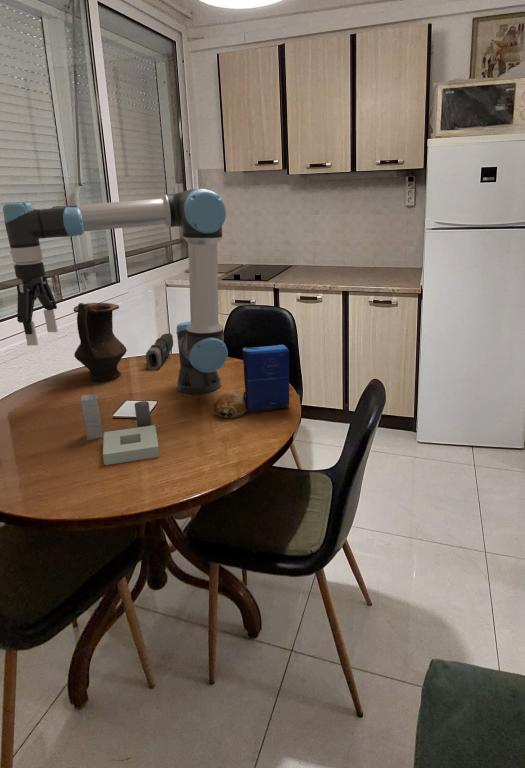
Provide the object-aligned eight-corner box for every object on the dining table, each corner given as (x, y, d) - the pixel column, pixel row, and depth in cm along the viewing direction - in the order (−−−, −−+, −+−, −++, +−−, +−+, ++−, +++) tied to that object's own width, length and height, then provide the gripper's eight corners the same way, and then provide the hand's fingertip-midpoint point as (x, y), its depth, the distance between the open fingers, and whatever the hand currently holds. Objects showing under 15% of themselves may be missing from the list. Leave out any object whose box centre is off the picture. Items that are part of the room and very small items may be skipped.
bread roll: (249, 423, 170) (256, 398, 169) (227, 420, 162) (235, 393, 161) (226, 415, 176) (233, 391, 176) (204, 411, 168) (211, 386, 168)
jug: (91, 368, 217) (79, 292, 207) (136, 368, 215) (126, 291, 204) (66, 387, 198) (51, 305, 187) (116, 388, 195) (103, 304, 185)
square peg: (102, 432, 161) (96, 393, 157) (102, 438, 157) (95, 398, 153) (88, 434, 160) (81, 395, 156) (87, 440, 156) (80, 400, 152)
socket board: (156, 434, 157) (155, 425, 156) (159, 456, 145) (158, 446, 144) (105, 441, 155) (104, 432, 153) (104, 465, 142) (102, 454, 141)
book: (244, 414, 167) (242, 351, 160) (241, 408, 172) (239, 346, 165) (291, 409, 170) (290, 346, 163) (286, 403, 175) (285, 342, 168)
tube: (181, 354, 240) (164, 368, 210) (166, 358, 240) (148, 373, 211) (173, 330, 237) (155, 341, 208) (158, 334, 238) (138, 346, 209)
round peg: (151, 425, 164) (148, 400, 161) (152, 431, 160) (148, 405, 157) (137, 427, 163) (134, 402, 160) (138, 433, 159) (134, 407, 156)
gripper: (34, 256, 162) (48, 327, 169) (-9, 270, 139) (9, 351, 146) (59, 255, 162) (72, 326, 169) (21, 269, 138) (37, 350, 146)
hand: (43, 338), depth 158 cm, fingers open, 13 cm apart
